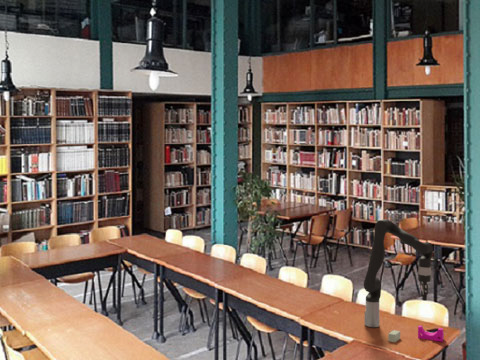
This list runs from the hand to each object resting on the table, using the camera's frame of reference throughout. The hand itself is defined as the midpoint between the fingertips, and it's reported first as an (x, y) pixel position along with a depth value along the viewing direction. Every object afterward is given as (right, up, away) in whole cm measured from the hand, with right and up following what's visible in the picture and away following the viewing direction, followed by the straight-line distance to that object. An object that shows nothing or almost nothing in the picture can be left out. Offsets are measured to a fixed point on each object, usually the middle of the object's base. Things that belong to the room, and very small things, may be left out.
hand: (423, 298), depth 349 cm
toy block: (+6, -27, +5) cm, 29 cm away
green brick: (-18, -27, +3) cm, 33 cm away
